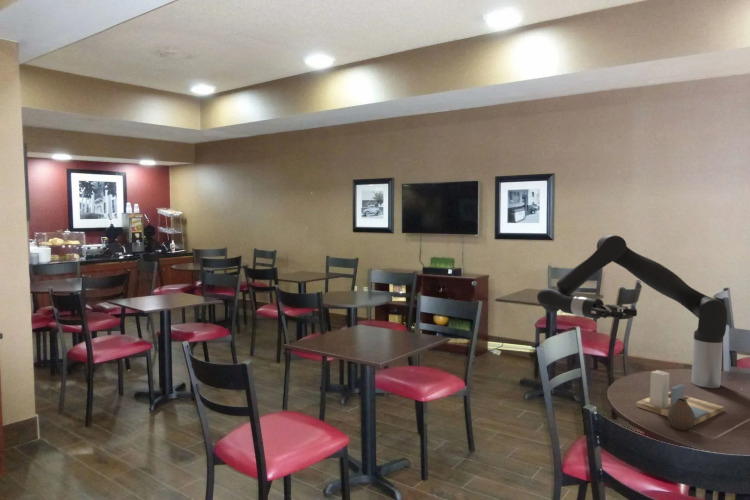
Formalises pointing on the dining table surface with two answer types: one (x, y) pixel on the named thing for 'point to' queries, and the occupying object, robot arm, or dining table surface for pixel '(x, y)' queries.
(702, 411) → the blue l-shaped block
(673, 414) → the vase
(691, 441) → the dining table surface
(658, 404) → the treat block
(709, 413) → the puzzle board
